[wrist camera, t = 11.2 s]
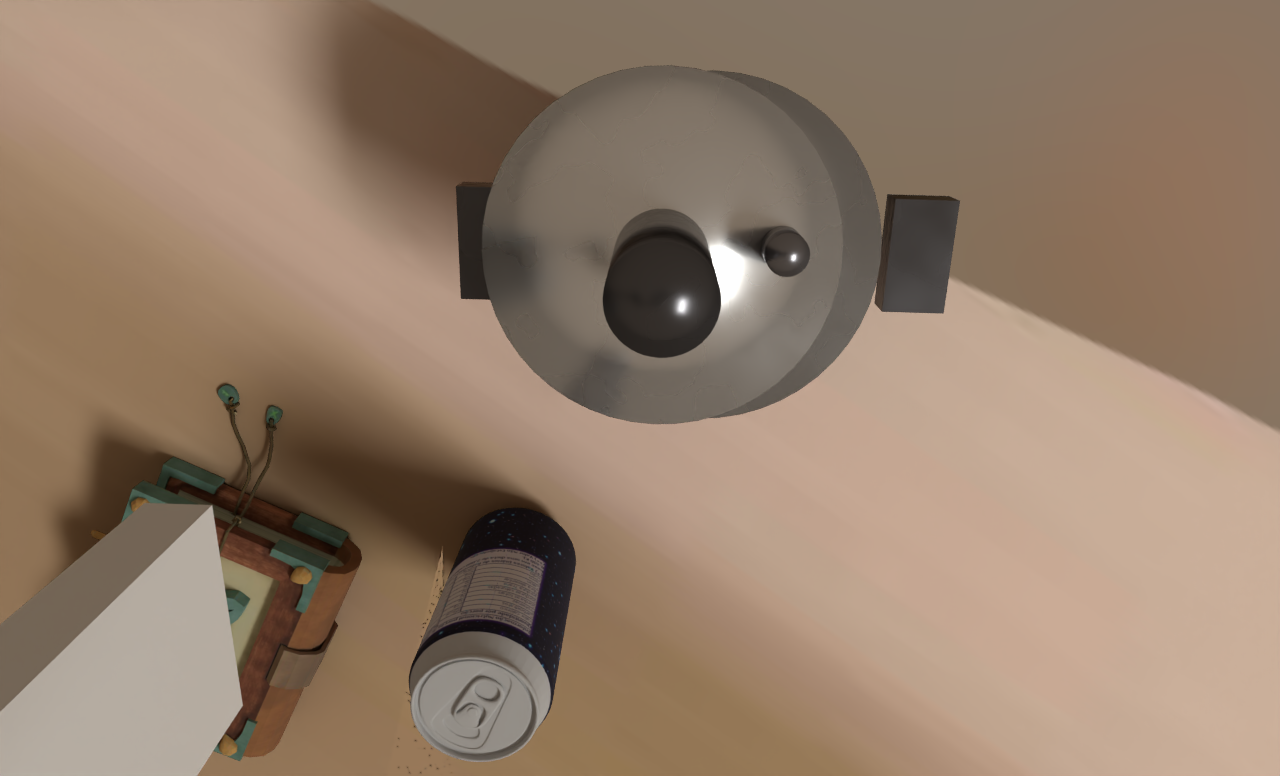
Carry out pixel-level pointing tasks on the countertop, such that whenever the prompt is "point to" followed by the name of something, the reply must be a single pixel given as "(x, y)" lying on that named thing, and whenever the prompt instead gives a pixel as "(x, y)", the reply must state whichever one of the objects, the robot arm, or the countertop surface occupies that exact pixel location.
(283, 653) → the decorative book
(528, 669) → the beverage can
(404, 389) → the countertop surface
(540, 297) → the lid
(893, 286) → the pot
